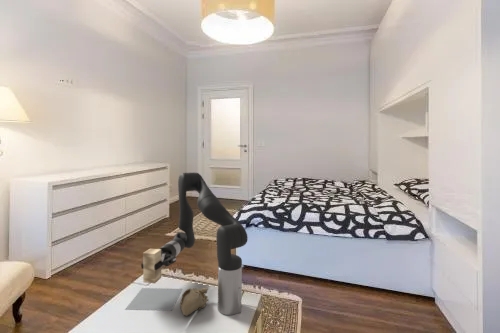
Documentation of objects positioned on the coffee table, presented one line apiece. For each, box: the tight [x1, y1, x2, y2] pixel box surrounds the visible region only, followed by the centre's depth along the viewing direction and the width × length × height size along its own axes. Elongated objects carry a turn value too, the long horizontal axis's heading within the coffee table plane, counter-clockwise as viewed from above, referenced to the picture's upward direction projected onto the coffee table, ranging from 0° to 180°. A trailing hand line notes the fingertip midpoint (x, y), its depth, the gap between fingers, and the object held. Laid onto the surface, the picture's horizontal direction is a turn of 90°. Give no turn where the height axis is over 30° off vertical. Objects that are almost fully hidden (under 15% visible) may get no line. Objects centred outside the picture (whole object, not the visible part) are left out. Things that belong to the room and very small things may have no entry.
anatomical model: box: [179, 287, 209, 317], centre depth 103 cm, size 7×11×15 cm
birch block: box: [142, 248, 162, 284], centre depth 107 cm, size 5×5×12 cm
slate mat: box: [124, 287, 183, 312], centre depth 109 cm, size 18×16×1 cm
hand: (148, 267), depth 105 cm, fingers closed on birch block, 5 cm apart
